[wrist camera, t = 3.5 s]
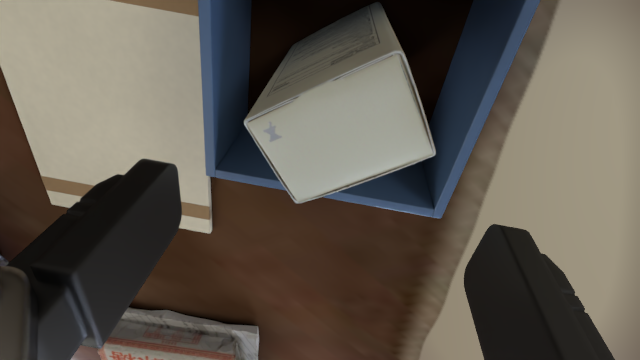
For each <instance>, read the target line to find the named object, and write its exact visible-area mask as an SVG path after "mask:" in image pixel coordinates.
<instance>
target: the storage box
mask: <svg viewBox="0 0 640 360" xmlns="http://www.w3.org/2000/svg"><path fill="white" fill-rule="evenodd" d="M539 2H540V0H473V3H472V6H471V9H470V11H469V14H468V17H467V20H466V23H465V25H464V28H463V31H462V34H461V37H460V39H459V42H458V45H457V48H456V51H455V53H454V56H453V59H452V62H451V65H450V67H449V70H448V73H447V76H446V79H445V81H444V84H443V87H442V90H441V93H440V95H439V98H438V101H437V104H436V107H435V109H434V112H433V115H432V118H431V120H430V123H429V129H430V132H431V136H432V140H433V143H434V146H435V149H436V154H435V156H433V157H430V158H428V159H425V160H422V161H420V162H417V163H415V164H412V165H410V166H407V167H404V168H402V169H399V170H397V171H394V172H391V173H388V174H386V175H383V176H380V177H378V178H375V179H372V180H369V181H367V182H364V183H361V184H358V185H355V186H352V187H350V188H347V189H344V190H341V191H339V192H335V193H332V194H329V195H326V196H323V197H325V198H331V199H336V200H342V201H347V202H353V203H358V204H363V205H369V206H374V207H380V208H385V209H391V210H396V211H402V212H407V213H413V214H418V215H424V216H429V217H431V216H432V217H435V218H441V217H442V215H443V213H444V211H445V209H446V206H447V204H448V202H449V200H450V198H451V195H452V193H453V191H454V189H455V187H456V184H457V182H458V180H459V178H460V176H461V173H462V171H463V169H464V167H465V165H466V162H467V160H468V158H469V156H470V154H471V151H472V149H473V147H474V145H475V143H476V141H477V138H478V136H479V134H480V132H481V130H482V127H483V125H484V123H485V121H486V119H487V116H488V114H489V112H490V110H491V108H492V105H493V103H494V101H495V99H496V97H497V94H498V92H499V90H500V88H501V86H502V83H503V81H504V79H505V77H506V75H507V72H508V70H509V68H510V66H511V64H512V61H513V59H514V57H515V55H516V53H517V50H518V48H519V46H520V44H521V42H522V39H523V37H524V35H525V33H526V31H527V29H528V26H529V24H530V22H531V20H532V18H533V15H534V13H535V11H536V9H537V7H538V4H539ZM251 3H252V0H198V13H199V35H200V57H201V79H202V101H203V123H204V145H205V167H206V176H211V177H216V178H222V179H227V180H233V181H238V182H243V183H249V184H254V185H260V186H265V187H271V188H276V189H282V190H286V189H285V188H284V186H283V185H282V183H281V182H280V180H279V179H278V177H277V176H276V174H275V173H274V171H273V170H272V168H271V166H270V165H269V163H268V162H267V160H266V159H265V157H264V156H263V154H262V152H261V150H260V149H259V147H258V146H257V144H256V143H255V141H254V139H253V137H252V136H251V134H250V133H249V131H248V130H247V128H246V127H245V125H244V120H245V118H246V117H247V115H248V93H249V63H250V33H251Z"/></svg>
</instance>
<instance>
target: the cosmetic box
mask: <svg viewBox="0 0 640 360" xmlns="http://www.w3.org/2000/svg"><path fill="white" fill-rule="evenodd" d="M244 125H245V127H246V128H247V130H248V131H249V133H250V134H251V136H252V137H253V139H254V141H255V143H256V144H257V146H258V147H259V149H260V150H261V152H262V154H263V156H264V157H265V159H266V160H267V162H268V163H269V165H270V166H271V168H272V170H273V171H274V173H275V174H276V176H277V177H278V179H279V180H280V182H281V183H282V185H283V186H284V188H285V189H286V190H287V192H288V193H289V194H290V196H291V197H292V199H293V200H294V202H295V203H303V202H306V201H310V200H313V199H316V198H320V197H323V196H326V195H329V194H332V193H335V192H339V191H341V190H344V189H347V188H350V187H352V186H355V185H358V184H361V183H364V182H367V181H369V180H372V179H375V178H378V177H380V176H383V175H386V174H388V173H391V172H394V171H397V170H399V169H402V168H404V167H407V166H410V165H412V164H415V163H417V162H420V161H422V160H425V159H428V158H430V157H433V156H435V154H436V149H435V146H434V143H433V140H432V136H431V132H430V129H429V125H428V122H427V119H426V115H425V112H424V109H423V106H422V103H421V99H420V96H419V93H418V90H417V87H416V85H415V82H414V79H413V76H412V73H411V70H410V67H409V64H408V62H407V59H406V56H405V53H404V52H403V50H402V48H401V46H400V44H399V41H398V39H397V37H396V35H395V33H394V31H393V29H392V27H391V24H390V22H389V20H388V18H387V16H386V13H385V11H384V9H383V7H382V5H381V3H380V2H375V3H373V4H370V5H368V6H366V7H364V8H362V9H360V10H358V11H356V12H354V13H352V14H350V15H347V16H345V17H343V18H341V19H340V20H338V21H336V22H334V23H332V24H330V25H328V26H326V27H324V28H322V29H320V30H319V31H317V32H315V33H313V34H311V35H309V36H308V37H306V38H304V39H302V40H301V41H299V42H297V43H295V44H294V45H292V47H291V48H290V50H289V51H288V53H287V54H286V56H285V58H284V59H283V61H282V62H281V64H280V65H279V67H278V69H277V70H276V72H275V73H274V75H273V76H272V78H271V79H270V81H269V82H268V84H267V86H266V87H265V89H264V90H263V92H262V93H261V95H260V96H259V98H258V100H257V101H256V103H255V104H254V106H253V107H252V109H251V111H250V112H249V114H248V115H247V117H246V118H245V120H244Z"/></svg>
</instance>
